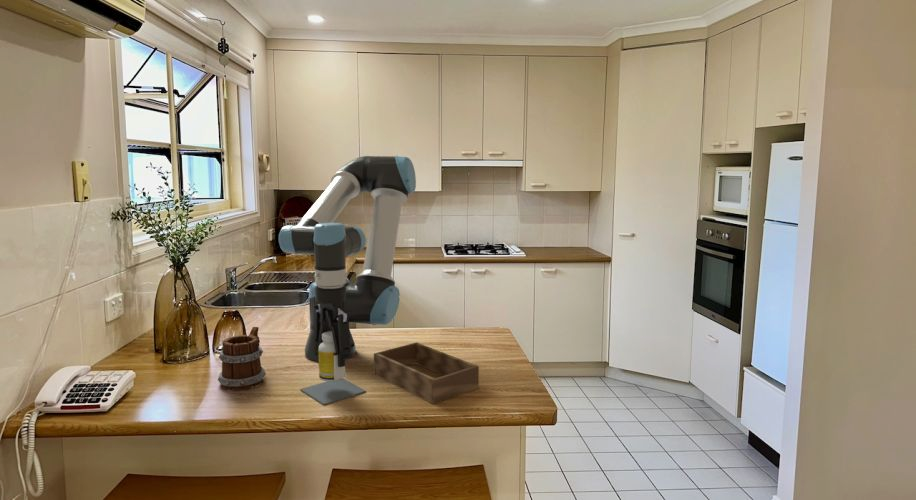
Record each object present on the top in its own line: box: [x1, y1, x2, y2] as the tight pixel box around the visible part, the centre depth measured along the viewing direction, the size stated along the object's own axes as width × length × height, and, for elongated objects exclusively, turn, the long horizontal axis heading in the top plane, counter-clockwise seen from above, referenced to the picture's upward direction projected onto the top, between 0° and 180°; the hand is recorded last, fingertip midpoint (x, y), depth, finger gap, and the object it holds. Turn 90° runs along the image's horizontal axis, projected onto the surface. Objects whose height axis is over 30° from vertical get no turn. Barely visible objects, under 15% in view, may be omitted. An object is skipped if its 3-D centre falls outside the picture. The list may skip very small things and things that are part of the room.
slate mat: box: [299, 378, 367, 406], centre depth 141 cm, size 12×12×1 cm
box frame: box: [373, 341, 480, 405], centre depth 148 cm, size 26×15×6 cm, turn 42°
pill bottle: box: [318, 331, 343, 382], centre depth 140 cm, size 6×6×12 cm
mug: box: [217, 326, 267, 391], centre depth 147 cm, size 12×14×15 cm
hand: (332, 374), depth 140 cm, fingers closed on pill bottle, 6 cm apart
